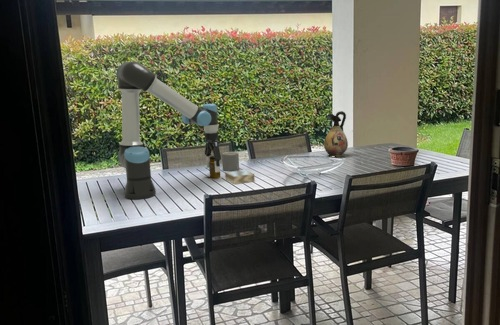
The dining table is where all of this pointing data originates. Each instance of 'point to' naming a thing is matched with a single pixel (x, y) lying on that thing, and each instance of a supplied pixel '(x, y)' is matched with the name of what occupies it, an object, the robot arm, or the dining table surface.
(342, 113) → the ceramic jug
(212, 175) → the condiment
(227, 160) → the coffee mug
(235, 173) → the plinth
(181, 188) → the dining table surface
